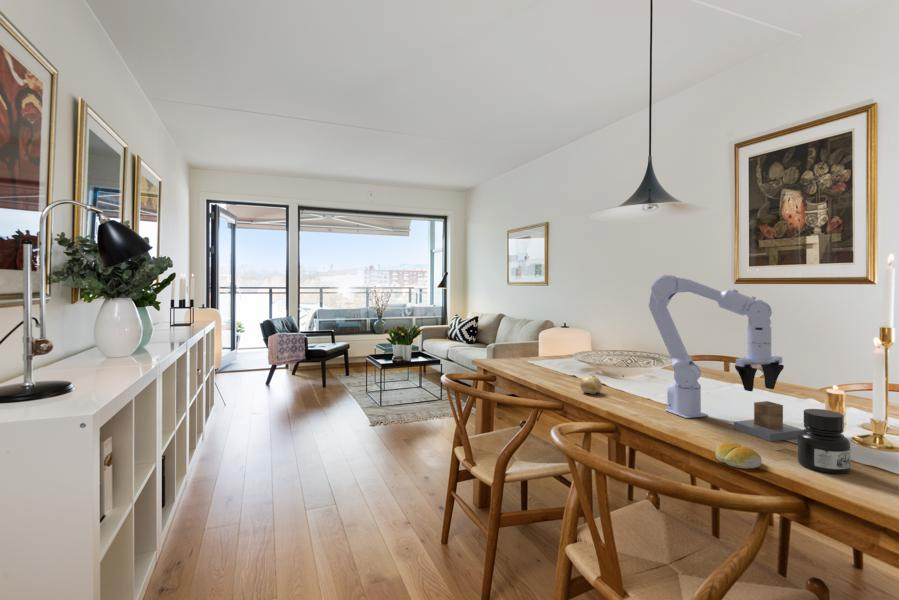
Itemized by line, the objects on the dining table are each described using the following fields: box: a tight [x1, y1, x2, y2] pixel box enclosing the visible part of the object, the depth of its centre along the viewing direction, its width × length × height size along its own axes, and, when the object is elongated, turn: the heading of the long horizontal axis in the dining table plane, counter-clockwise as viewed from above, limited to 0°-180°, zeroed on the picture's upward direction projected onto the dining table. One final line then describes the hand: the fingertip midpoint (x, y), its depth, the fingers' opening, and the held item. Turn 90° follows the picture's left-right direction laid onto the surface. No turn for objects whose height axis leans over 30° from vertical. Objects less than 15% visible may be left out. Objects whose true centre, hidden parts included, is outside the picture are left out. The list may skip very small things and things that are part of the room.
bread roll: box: [714, 442, 762, 470], centre depth 104 cm, size 8×9×4 cm
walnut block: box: [753, 400, 784, 429], centre depth 122 cm, size 4×4×6 cm
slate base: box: [733, 418, 804, 443], centre depth 122 cm, size 11×11×2 cm
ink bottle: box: [797, 408, 851, 475], centre depth 99 cm, size 10×9×12 cm
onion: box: [579, 373, 603, 395], centre depth 170 cm, size 8×8×7 cm
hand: (759, 389), depth 130 cm, fingers open, 7 cm apart
